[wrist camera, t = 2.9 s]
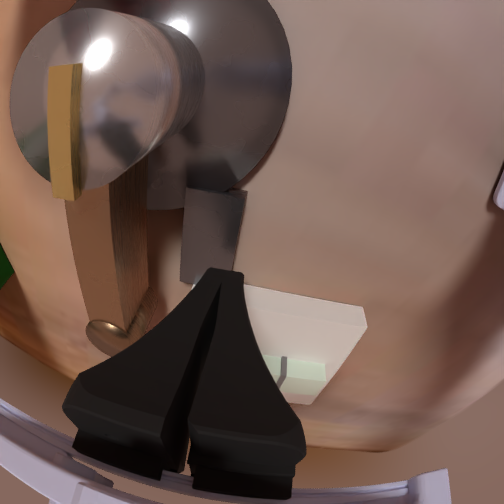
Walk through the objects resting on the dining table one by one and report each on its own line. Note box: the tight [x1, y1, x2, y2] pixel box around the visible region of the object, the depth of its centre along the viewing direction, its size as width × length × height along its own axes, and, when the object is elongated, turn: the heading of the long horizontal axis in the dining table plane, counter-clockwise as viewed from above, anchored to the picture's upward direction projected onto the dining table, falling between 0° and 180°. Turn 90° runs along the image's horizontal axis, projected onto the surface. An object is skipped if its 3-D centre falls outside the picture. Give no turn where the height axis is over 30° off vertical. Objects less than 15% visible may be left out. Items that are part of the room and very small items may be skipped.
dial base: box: [68, 0, 292, 285], centre depth 10 cm, size 11×14×1 cm
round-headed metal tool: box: [10, 8, 205, 357], centre depth 10 cm, size 14×5×5 cm, turn 169°
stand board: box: [191, 284, 367, 405], centre depth 16 cm, size 9×9×4 cm
